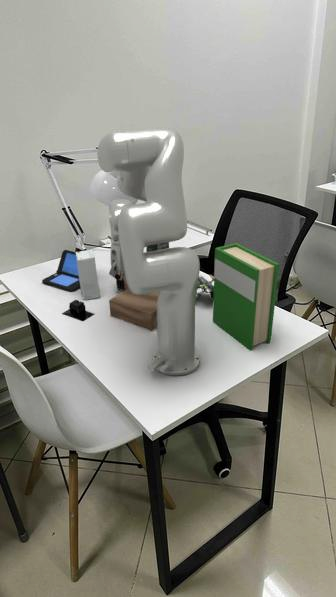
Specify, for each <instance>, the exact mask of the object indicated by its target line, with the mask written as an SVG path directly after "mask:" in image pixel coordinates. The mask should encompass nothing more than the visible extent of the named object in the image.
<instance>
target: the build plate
mask: <svg viewBox="0 0 336 597" xmlns="http://www.w3.org/2000/svg"><path fill="white" fill-rule="evenodd" d="M61 315H64V316H67V317H69V318H72V319H75V320H77V321H80V322H85V321H86V320H88V319H90V318H91V317H93V316H94V315H95V313H93V312H91V311H88V310H86V305H85V302H84V301H81V300H79V299H78V300H77V299H74V300H73V301H71V302H69V305H68V309H67V310H65V311H64V312H61Z"/></svg>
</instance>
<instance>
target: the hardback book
mask: <svg viewBox="0 0 336 597" xmlns="http://www.w3.org/2000/svg"><path fill="white" fill-rule="evenodd" d="M279 269H280V263H278V262H277V261H274V260H272V259H270V258H268V257H266V256H264V255H262V254H260V253H258V252H256V251H254V250H253V249H252V250H251V249H249V248H247V247H246V246H244V245H241V244H239V243H237V242H235V243H231V244H227V245H224V246H223V245H222V246H218V247H215V249H214V272H213V277H214V281H213V286H214V299H213V300H212V301H213V303H212V304H213V306H212V307H213V308H212V323H213V324H214V325H216V326H217V327H218V328H220V329H221V330H222V331H224V332H225V333H226V334H228V335H229V336H230V337H232V338H233V340H235V341H236V342H238V343H239V344H240V345H242V346H243V347H244V348H245V347H246V348H245V349H247V350H248V351H249V352H250V351H253V349H254V348H253V347H254V346H256V345H259V344H262V343H266V344H268V345H269V344H271V343H272V342H271V341H272V335H273V325H274V324H273V323H274V316H275V309H276V308H275V307H276V297H277V291H278V290H277V289H278V281H279V279H278V278H279Z"/></svg>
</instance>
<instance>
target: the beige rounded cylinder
mask: <svg viewBox="0 0 336 597" xmlns="http://www.w3.org/2000/svg"><path fill="white" fill-rule="evenodd" d="M118 275H119V276H120V273H119V272H118ZM123 279H124V287H125V289H124V290H123V292H124V291H125V290H127V289H129V288H128V285H127V282H126V277H125V273H123ZM119 290H121V289H119ZM121 291H122V290H121Z"/></svg>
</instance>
